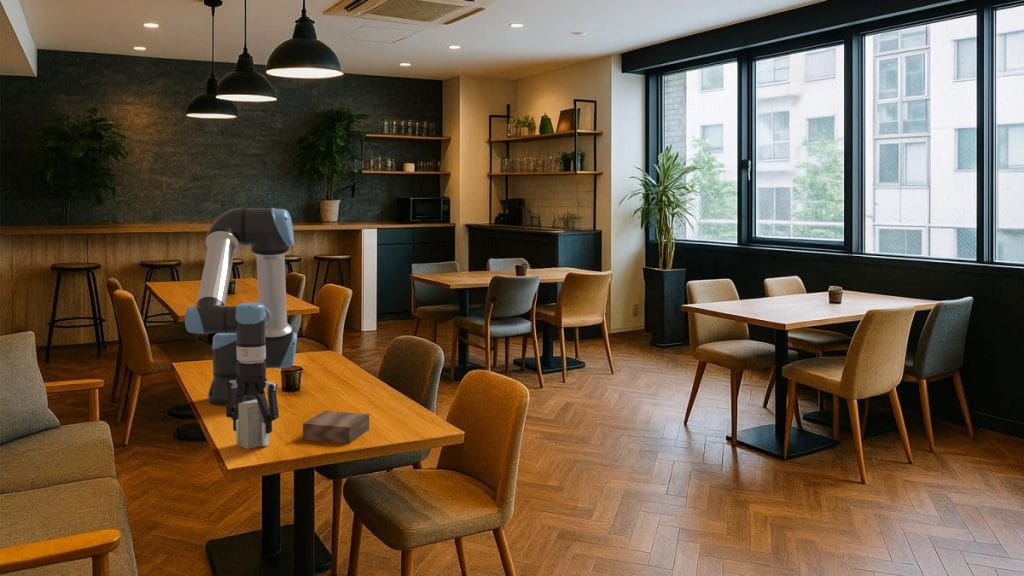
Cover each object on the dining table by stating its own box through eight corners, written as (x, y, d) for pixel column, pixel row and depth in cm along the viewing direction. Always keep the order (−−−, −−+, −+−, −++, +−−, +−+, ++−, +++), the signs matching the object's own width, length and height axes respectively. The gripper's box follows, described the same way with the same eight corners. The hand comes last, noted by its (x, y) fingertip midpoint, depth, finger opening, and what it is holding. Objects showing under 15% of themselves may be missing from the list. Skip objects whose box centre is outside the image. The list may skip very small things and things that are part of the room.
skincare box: (259, 441, 223) (259, 398, 221) (267, 445, 220) (266, 401, 218) (238, 445, 218) (237, 402, 217) (245, 449, 215) (244, 405, 214)
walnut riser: (303, 440, 225) (302, 423, 225) (324, 427, 239) (324, 410, 238) (349, 445, 222) (349, 427, 222) (369, 430, 236) (369, 414, 235)
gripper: (210, 361, 214) (212, 445, 217) (279, 365, 211) (280, 450, 214) (224, 356, 222) (226, 437, 224) (292, 359, 218) (293, 442, 221)
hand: (252, 443), depth 219 cm, fingers closed on skincare box, 7 cm apart
